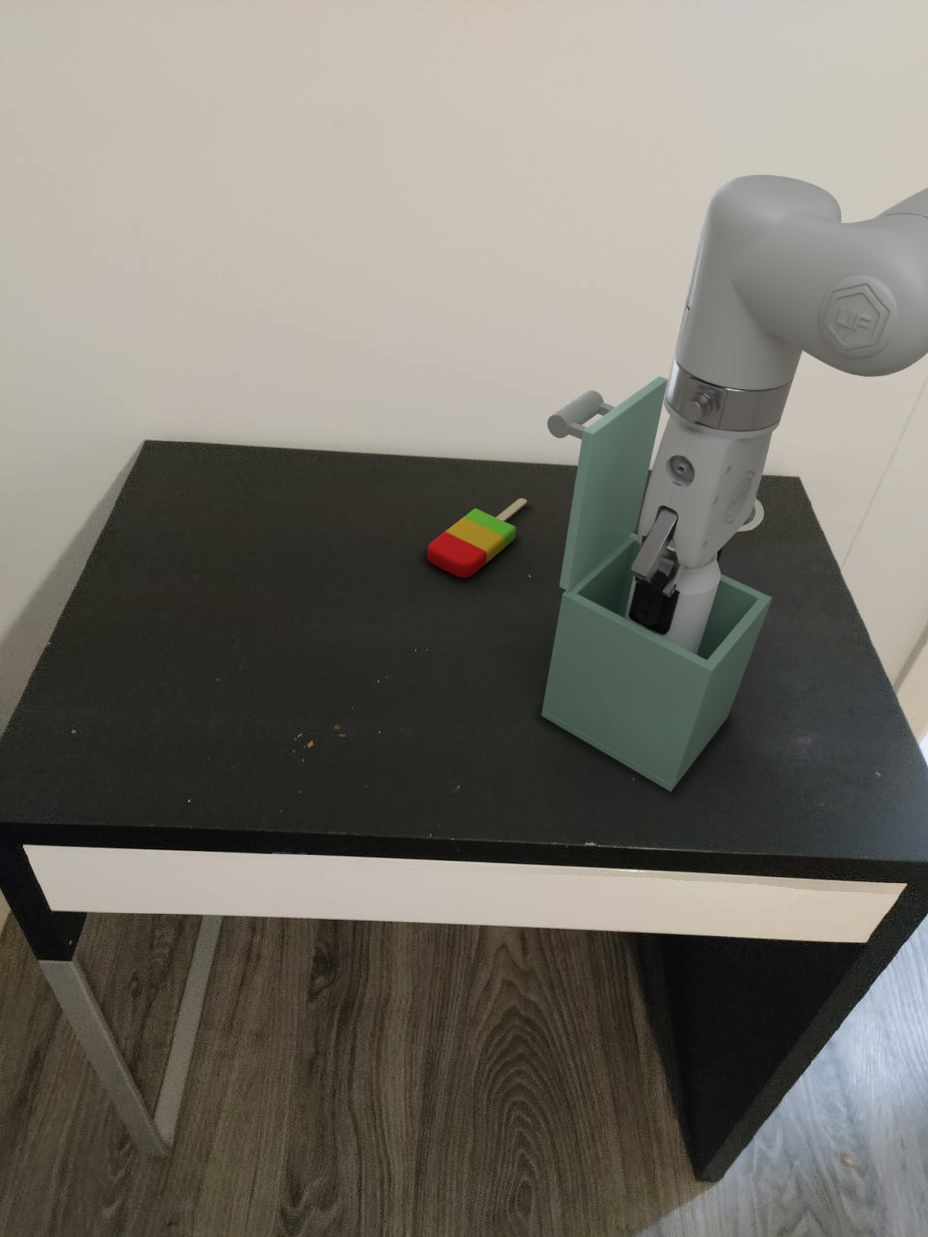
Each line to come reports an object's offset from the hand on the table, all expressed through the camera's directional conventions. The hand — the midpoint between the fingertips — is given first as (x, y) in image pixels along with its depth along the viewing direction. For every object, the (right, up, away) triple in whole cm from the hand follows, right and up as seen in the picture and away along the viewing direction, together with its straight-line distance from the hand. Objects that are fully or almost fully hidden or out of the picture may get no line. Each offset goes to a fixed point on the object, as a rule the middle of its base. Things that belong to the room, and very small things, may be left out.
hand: (670, 600), depth 71 cm
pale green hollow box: (-1, -10, +9) cm, 14 cm away
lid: (-5, +8, -2) cm, 10 cm away
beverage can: (0, -5, +5) cm, 7 cm away
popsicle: (-14, +7, +27) cm, 31 cm away
